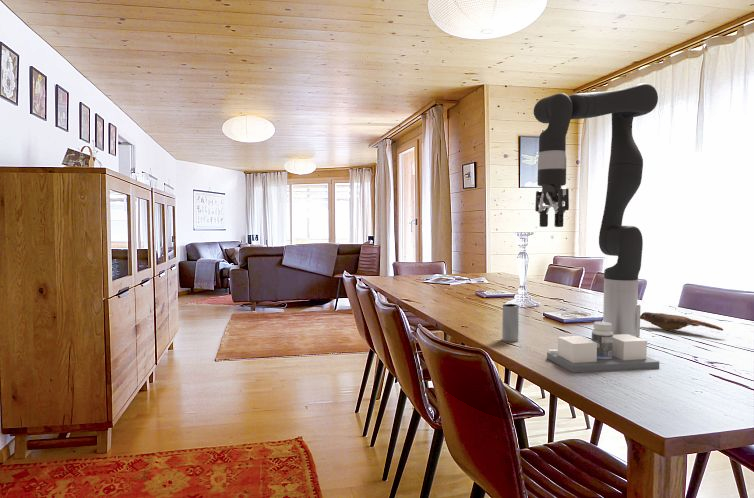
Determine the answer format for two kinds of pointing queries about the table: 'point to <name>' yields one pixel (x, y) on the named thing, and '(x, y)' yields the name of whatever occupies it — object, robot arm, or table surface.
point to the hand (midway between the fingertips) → (550, 226)
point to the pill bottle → (603, 339)
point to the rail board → (583, 358)
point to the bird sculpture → (673, 321)
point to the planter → (510, 322)
